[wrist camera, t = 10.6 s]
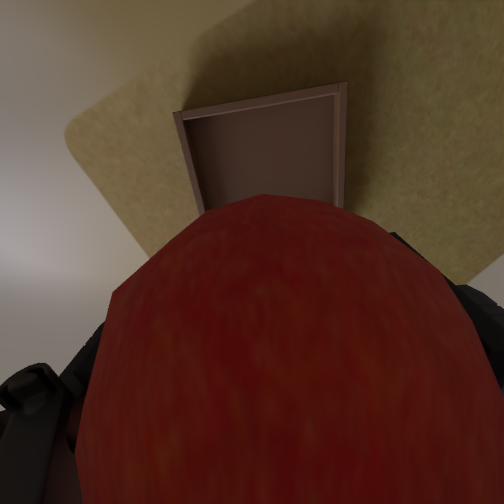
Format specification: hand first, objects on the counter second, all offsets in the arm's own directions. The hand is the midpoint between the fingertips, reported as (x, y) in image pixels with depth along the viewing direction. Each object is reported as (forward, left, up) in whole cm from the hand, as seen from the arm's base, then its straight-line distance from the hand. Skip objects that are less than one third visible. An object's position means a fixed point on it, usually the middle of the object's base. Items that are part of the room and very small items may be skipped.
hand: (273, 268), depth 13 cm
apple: (0, 0, -2) cm, 2 cm away
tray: (0, 0, -19) cm, 19 cm away
